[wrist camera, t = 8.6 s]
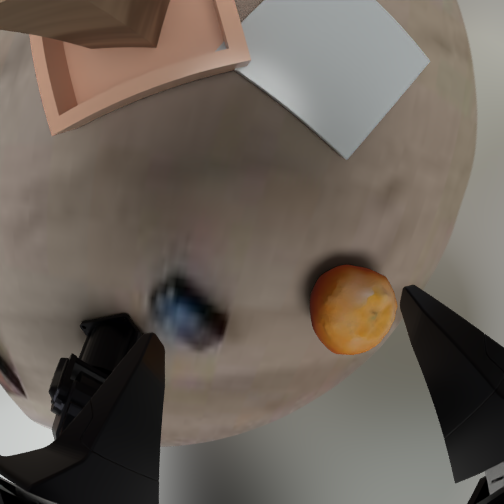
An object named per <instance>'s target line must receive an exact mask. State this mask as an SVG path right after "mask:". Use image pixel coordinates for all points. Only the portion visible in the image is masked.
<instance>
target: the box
mask: <svg viewBox="0 0 504 504" xmlns="http://www.w3.org/2000/svg"><path fill="white" fill-rule="evenodd" d="M29 35H30V43H31V49H32V56H33V62H34V67H35V72H36V77H37V82H38V86H39V91H40V95H41V99H42V103H43V107H44V110H45V114H46V118H47V121H48V125H49V128H50V131H51V134H52V136H54V135H57V134H61V133H64V132H67V131H70V130H74V129H77V128H79V127H81V126H83V125H85V124H87V123H89V122H91V121H93V120H95V119H97V118H99V117H101V116H103V115H105V114H107V113H110V112H112V111H114V110H116V109H119V108H121V107H123V106H125V105H128V104H130V103H133V102H135V101H138V100H140V99H143V98H145V97H148V96H150V95H153V94H156V93H159V92H161V91H164V90H167V89H170V88H173V87H176V86H179V85H182V84H185V83H189V82H192V81H195V80H199V79H202V78H206V77H209V76H213V75H217V74H221V73H225V72H229V71H234V69H236V68H240V67H245V66H247V65H248V64H249V63H250V61H251V57H250V54H249V50H248V46H247V43H246V39H245V36H244V32H243V28H242V25H241V21H240V18H239V15H238V11H237V8H236V4H235V1H234V0H170V2H169V5H168V8H167V12H166V15H165V18H164V22H163V25H162V29H161V33H160V37H159V40H158V44H157V48H146V47H121V48H99V49H90V48H86V47H83V46H79V45H75V44H72V43H68V42H64V41H60V40H56V39H51V38H47V37H42V36H37V35H32V34H29ZM223 42H225V46H226V49H224V50H220V51H216V50H217V49H218V48H219V46H220V45H221V44H222V43H223ZM215 51H216V52H215Z"/></svg>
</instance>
